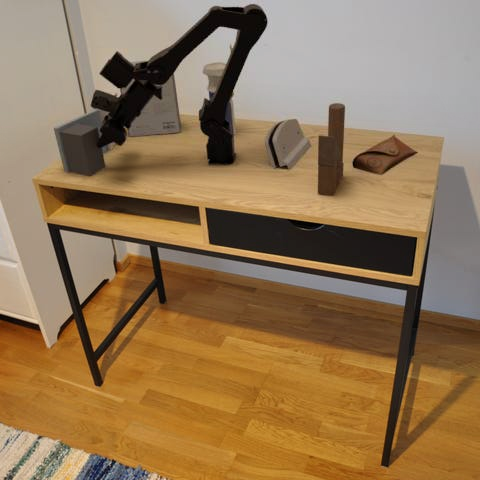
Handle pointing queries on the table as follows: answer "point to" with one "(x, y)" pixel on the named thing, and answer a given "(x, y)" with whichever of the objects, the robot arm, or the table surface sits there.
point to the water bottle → (214, 76)
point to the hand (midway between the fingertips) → (98, 146)
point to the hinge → (286, 143)
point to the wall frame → (103, 113)
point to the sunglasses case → (383, 156)
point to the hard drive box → (157, 112)
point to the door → (87, 119)
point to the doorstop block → (83, 149)
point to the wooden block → (331, 151)
